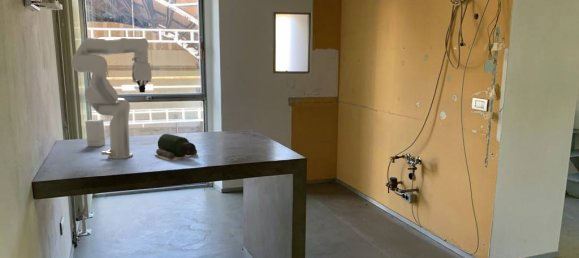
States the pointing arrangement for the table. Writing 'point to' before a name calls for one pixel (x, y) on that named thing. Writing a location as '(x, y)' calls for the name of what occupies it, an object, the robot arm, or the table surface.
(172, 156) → the cradle
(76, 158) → the table surface
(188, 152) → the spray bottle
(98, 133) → the skincare box
